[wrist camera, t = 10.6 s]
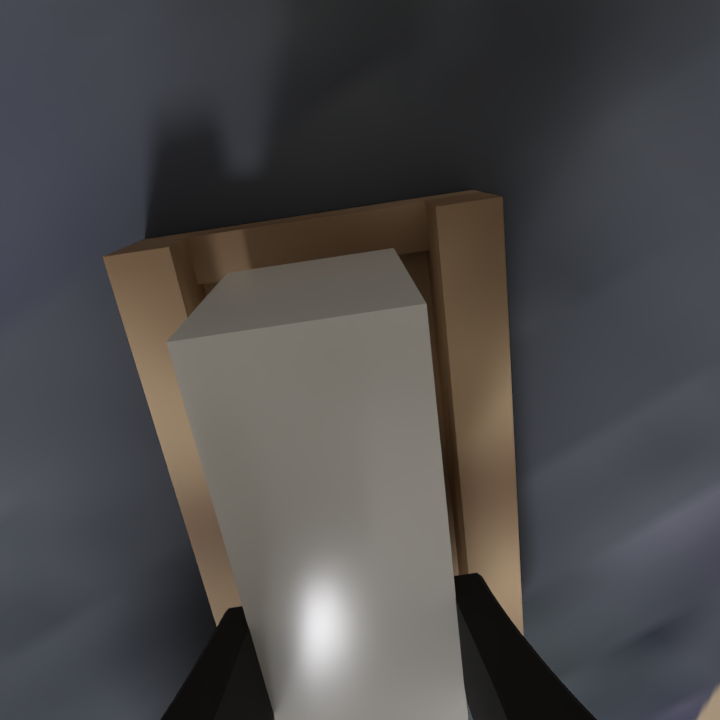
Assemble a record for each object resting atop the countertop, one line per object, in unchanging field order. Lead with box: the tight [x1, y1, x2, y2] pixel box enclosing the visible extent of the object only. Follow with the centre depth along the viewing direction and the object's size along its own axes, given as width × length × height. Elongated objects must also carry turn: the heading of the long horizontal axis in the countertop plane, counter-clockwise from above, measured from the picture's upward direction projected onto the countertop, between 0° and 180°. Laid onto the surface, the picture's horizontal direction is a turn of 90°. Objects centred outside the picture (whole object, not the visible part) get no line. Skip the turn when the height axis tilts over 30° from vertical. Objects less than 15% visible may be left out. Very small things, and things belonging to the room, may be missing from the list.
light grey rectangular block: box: [166, 248, 468, 720], centre depth 13 cm, size 14×4×5 cm, turn 8°
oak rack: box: [103, 190, 523, 720], centre depth 16 cm, size 16×9×3 cm, turn 8°
